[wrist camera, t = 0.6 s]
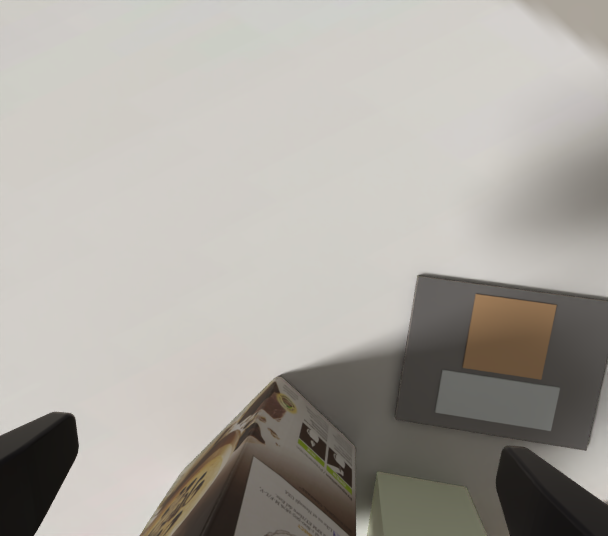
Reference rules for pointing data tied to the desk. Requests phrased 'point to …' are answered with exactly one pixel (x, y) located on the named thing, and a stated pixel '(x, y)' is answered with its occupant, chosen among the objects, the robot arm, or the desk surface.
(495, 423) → the card
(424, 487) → the sage block
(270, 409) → the coffee box
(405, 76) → the desk surface
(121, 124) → the desk surface
